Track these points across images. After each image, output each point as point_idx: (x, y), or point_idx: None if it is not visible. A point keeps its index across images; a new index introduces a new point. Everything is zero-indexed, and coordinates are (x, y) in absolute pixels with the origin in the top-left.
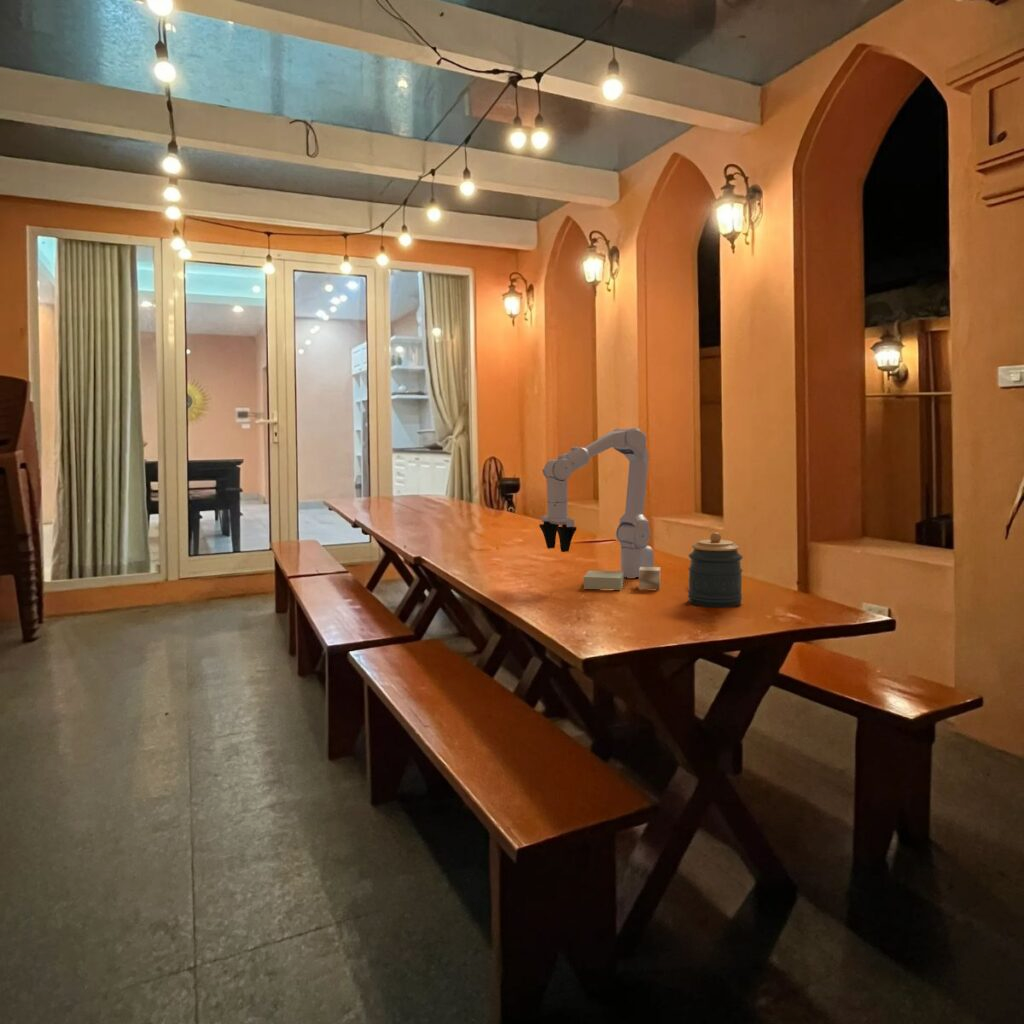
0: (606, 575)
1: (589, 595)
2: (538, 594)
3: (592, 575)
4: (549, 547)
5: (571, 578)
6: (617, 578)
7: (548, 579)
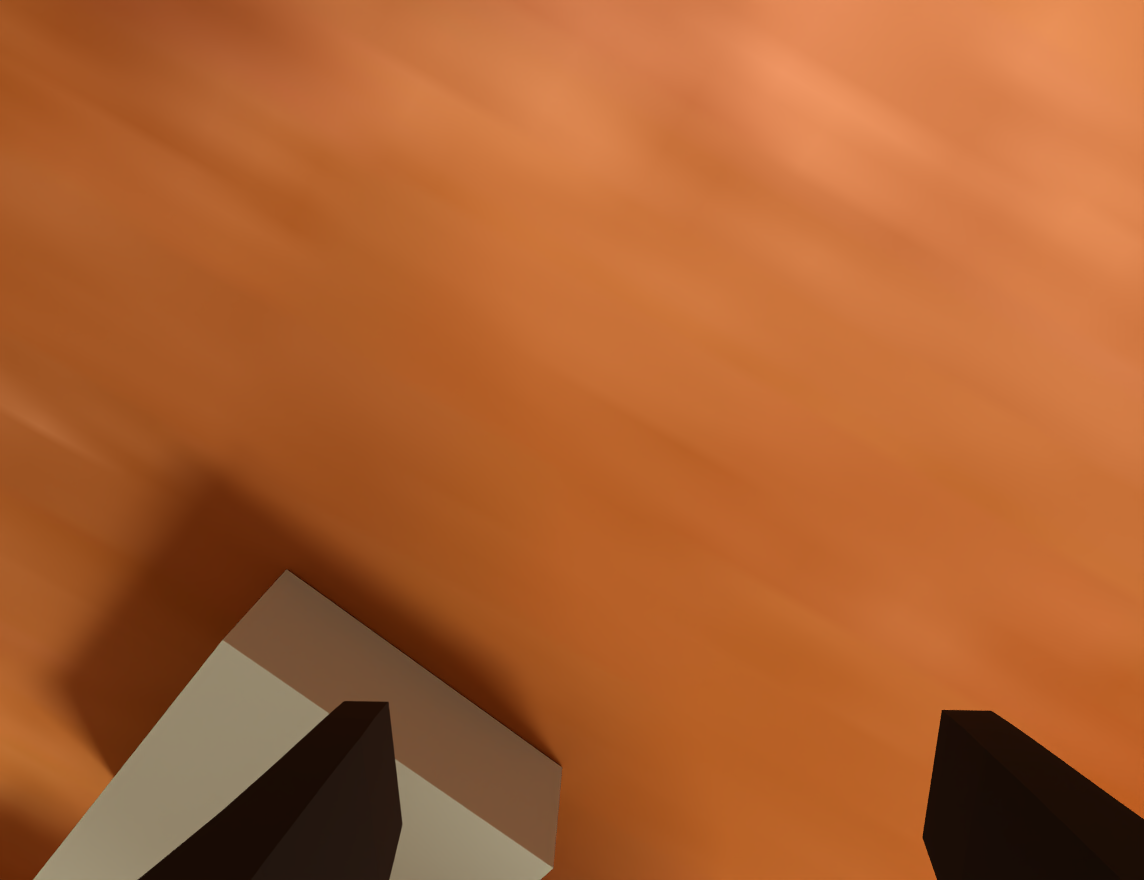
0: None
1: (20, 472)
2: (248, 13)
3: (264, 754)
4: (946, 747)
5: (839, 754)
6: (51, 859)
7: (949, 549)
